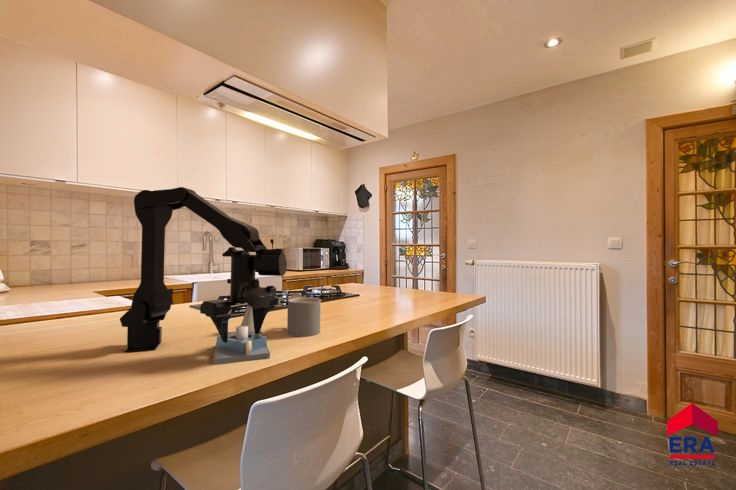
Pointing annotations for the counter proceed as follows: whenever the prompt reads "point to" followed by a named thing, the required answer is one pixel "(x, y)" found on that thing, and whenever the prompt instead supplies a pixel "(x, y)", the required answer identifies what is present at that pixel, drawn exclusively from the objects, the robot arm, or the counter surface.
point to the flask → (249, 320)
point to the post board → (228, 356)
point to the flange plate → (242, 343)
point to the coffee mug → (303, 317)
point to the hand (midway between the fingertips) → (241, 337)
